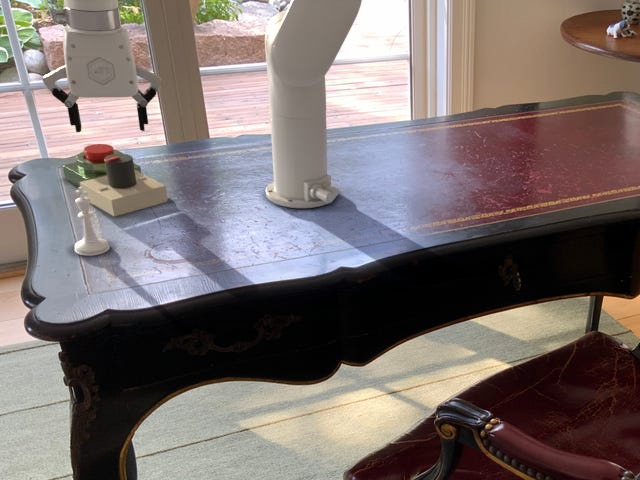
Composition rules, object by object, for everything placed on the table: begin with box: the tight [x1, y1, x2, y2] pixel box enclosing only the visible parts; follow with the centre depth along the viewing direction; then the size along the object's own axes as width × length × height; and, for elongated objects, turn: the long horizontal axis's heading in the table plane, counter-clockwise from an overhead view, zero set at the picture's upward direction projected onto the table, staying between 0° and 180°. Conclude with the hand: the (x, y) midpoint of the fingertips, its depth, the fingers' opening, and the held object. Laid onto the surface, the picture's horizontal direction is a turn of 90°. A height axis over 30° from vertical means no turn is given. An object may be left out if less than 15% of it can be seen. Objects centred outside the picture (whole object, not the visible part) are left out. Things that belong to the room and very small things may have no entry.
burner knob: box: [104, 153, 136, 188], centre depth 138 cm, size 4×4×5 cm
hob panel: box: [80, 170, 169, 217], centre depth 141 cm, size 10×10×3 cm
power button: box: [83, 143, 115, 162], centre depth 145 cm, size 5×5×2 cm
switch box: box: [62, 149, 142, 188], centre depth 147 cm, size 10×8×4 cm
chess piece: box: [74, 187, 111, 257], centre depth 123 cm, size 5×5×10 cm
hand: (110, 129), depth 134 cm, fingers open, 9 cm apart
